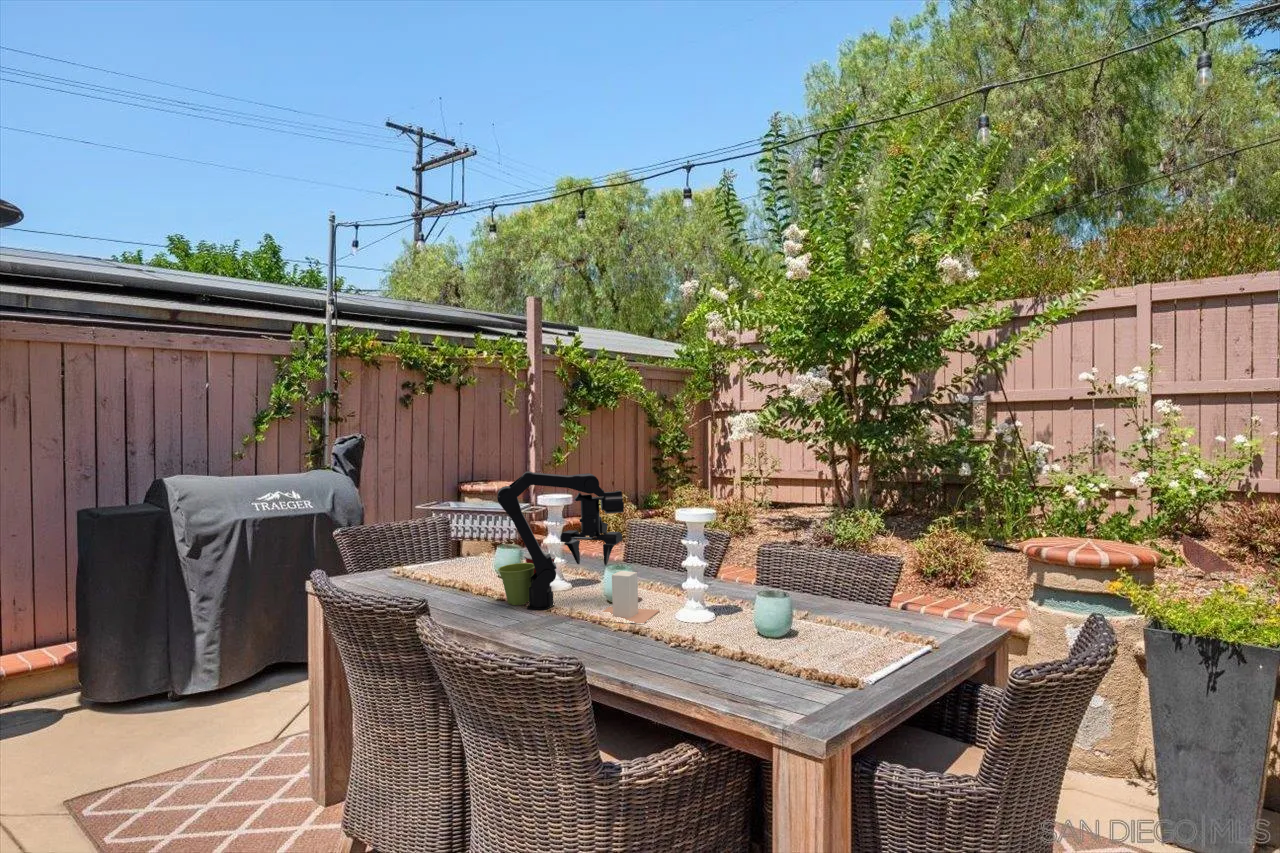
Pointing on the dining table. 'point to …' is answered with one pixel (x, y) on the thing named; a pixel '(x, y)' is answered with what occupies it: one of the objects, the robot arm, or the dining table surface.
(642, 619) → the terracotta mat
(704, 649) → the dining table surface
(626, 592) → the cream block
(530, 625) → the dining table surface
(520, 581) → the plant pot
